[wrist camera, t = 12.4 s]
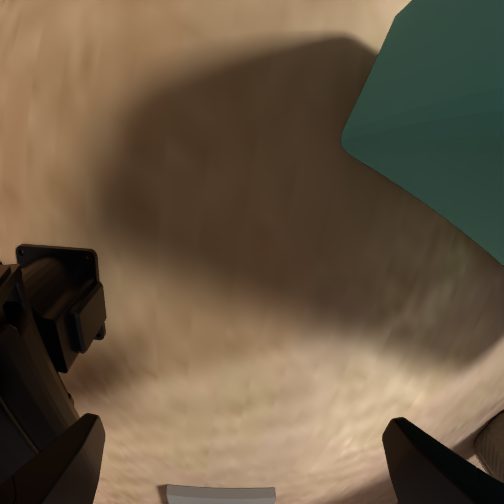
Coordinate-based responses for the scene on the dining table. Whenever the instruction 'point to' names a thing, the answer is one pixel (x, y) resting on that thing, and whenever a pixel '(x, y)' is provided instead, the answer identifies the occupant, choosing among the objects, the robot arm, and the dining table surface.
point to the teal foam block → (440, 113)
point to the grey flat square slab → (219, 495)
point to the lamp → (492, 448)
